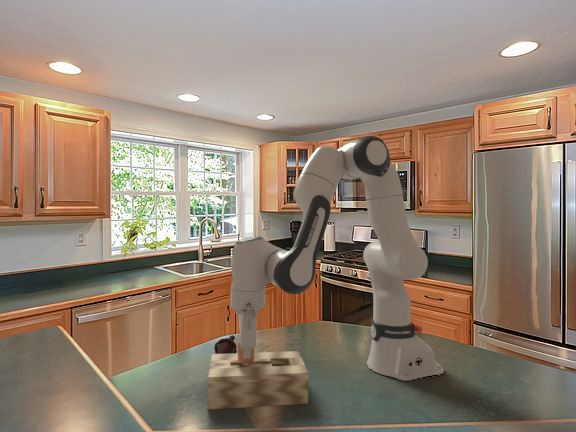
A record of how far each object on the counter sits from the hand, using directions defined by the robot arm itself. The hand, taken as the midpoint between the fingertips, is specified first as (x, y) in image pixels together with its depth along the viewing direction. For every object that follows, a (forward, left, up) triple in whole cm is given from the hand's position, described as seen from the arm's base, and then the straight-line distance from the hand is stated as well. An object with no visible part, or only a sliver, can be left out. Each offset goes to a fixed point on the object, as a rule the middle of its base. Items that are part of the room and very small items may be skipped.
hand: (246, 353), depth 89 cm
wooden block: (0, 0, -6) cm, 6 cm away
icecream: (+5, -22, -10) cm, 25 cm away
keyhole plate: (-3, 0, -10) cm, 11 cm away
